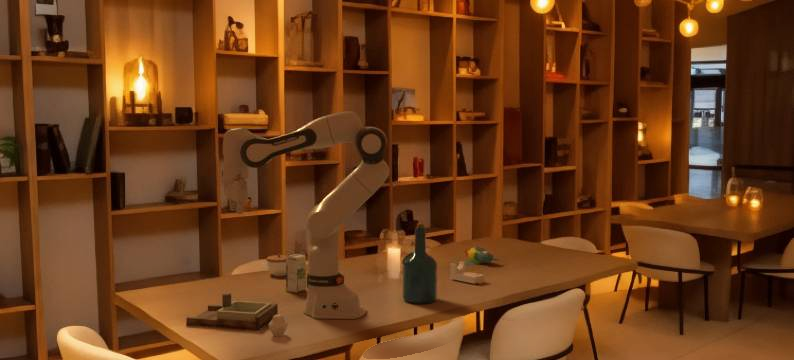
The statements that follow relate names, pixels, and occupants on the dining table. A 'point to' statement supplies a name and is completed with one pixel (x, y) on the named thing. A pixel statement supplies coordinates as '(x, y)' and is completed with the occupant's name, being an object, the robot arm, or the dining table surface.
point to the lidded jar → (277, 265)
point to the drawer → (240, 309)
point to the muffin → (278, 325)
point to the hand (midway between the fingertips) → (236, 212)
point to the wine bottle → (419, 272)
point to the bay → (211, 320)
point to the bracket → (464, 274)
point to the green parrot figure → (478, 256)
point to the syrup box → (295, 273)
